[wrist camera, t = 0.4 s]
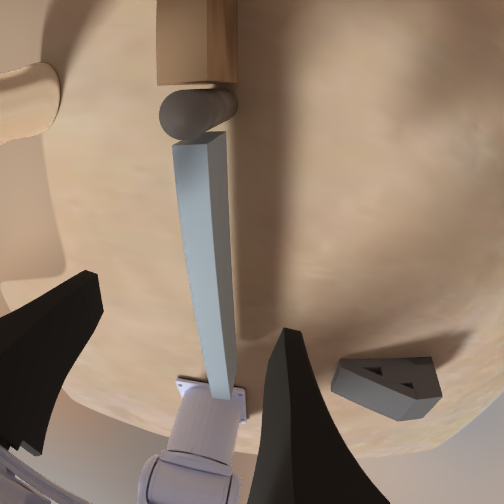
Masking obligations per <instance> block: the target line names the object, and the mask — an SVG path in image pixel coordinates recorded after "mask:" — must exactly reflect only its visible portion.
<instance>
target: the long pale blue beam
mask: <svg viewBox="0 0 504 504" xmlns="http://www.w3.org/2000/svg"><path fill="white" fill-rule="evenodd" d="M172 150H173V161H174V172H175V182H176V191H177V200H178V209H179V217H180V224H181V232H182V239H183V246H184V253H185V260H186V266H187V273H188V279H189V285H190V291H191V297H192V302H193V308H194V313H195V319H196V324H197V329H198V334H199V339H200V344H201V349H202V354H203V359H204V363H205V368H206V372H207V377H208V381H209V385H210V390H211V394H212V398H217V399H224V400H231V397H232V392H233V387H234V382H235V378H236V373H237V368H238V363H237V349H236V334H235V319H234V302H233V285H232V267H231V247H230V226H229V202H228V176H227V145H226V131H217V132H203V133H201V134H200V135H198V136H196V137H194V138H192V139H188V140H182V141H180V142H178V143H176V144H174V145H172Z"/></svg>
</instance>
